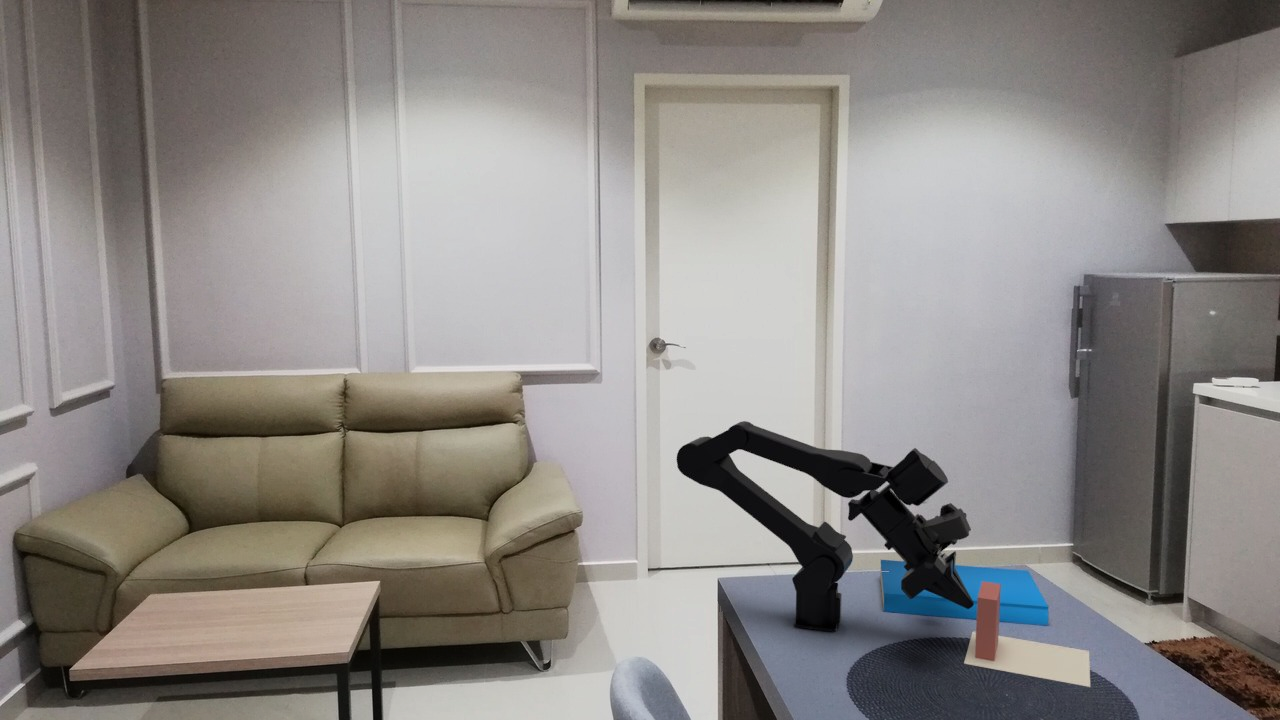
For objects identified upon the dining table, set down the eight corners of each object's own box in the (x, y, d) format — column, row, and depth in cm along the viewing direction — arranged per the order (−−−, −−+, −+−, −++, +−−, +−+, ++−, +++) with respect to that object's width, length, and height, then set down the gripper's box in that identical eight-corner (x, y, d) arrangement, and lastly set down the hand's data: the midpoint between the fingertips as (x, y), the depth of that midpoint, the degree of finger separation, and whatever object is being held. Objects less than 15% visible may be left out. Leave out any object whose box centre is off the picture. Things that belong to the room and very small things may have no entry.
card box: (975, 657, 128) (977, 597, 127) (979, 638, 134) (982, 581, 133) (994, 661, 127) (997, 600, 126) (998, 642, 133) (1000, 584, 132)
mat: (963, 666, 126) (963, 663, 126) (972, 634, 137) (972, 631, 137) (1090, 690, 119) (1090, 686, 119) (1088, 654, 130) (1089, 651, 130)
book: (879, 559, 161) (1027, 567, 155) (878, 582, 161) (1027, 591, 156) (883, 594, 144) (1050, 605, 139) (883, 620, 144) (1049, 632, 139)
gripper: (927, 507, 123) (1010, 597, 119) (945, 477, 140) (1018, 555, 136) (868, 554, 127) (947, 642, 124) (892, 519, 144) (962, 596, 140)
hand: (971, 606), depth 131 cm, fingers closed
